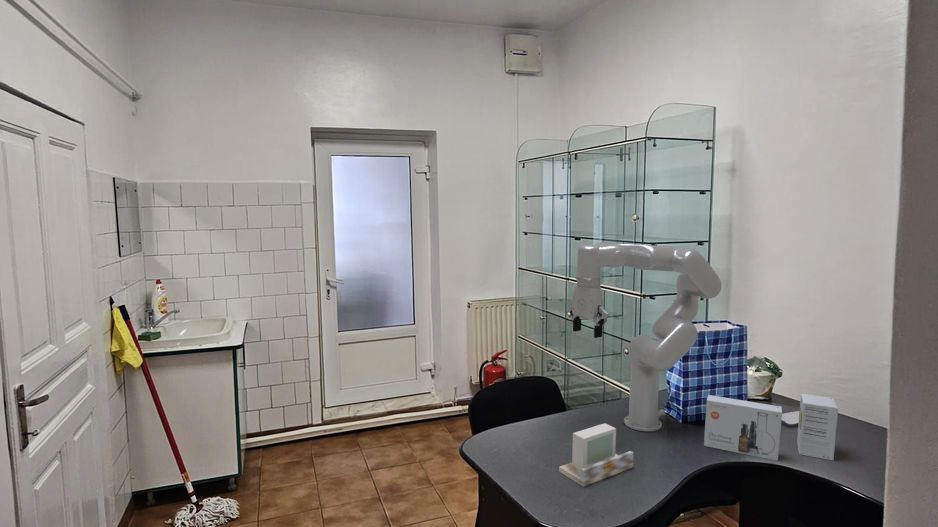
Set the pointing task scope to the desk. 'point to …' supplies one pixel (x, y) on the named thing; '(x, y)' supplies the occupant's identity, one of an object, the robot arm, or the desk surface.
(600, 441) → the carton
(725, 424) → the skincare box
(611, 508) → the desk surface
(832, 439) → the supplement box
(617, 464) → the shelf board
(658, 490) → the desk surface
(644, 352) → the robot arm
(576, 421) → the desk surface
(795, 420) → the phone case
